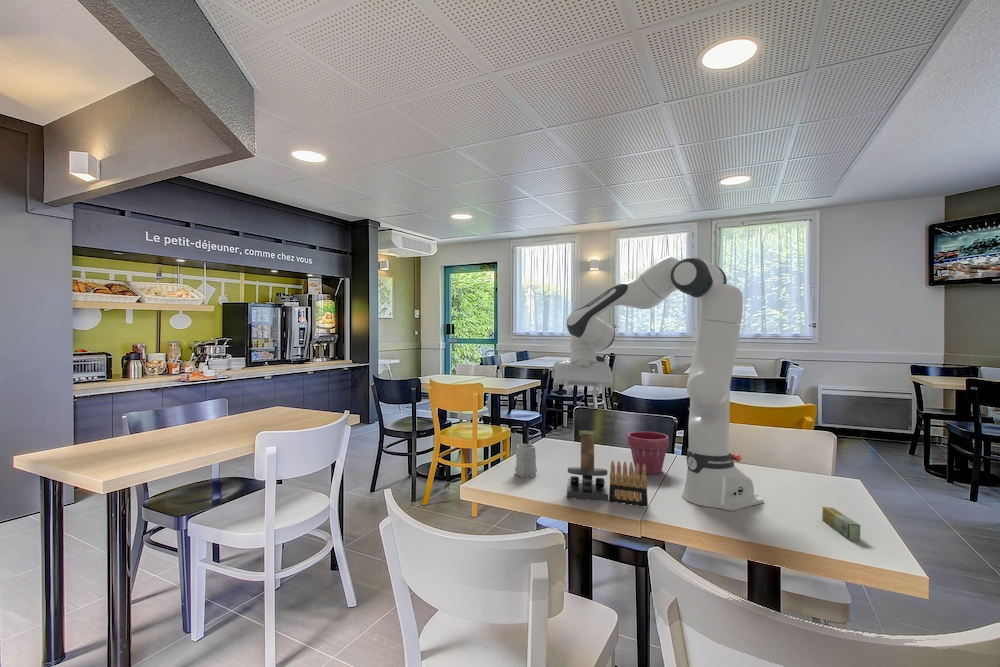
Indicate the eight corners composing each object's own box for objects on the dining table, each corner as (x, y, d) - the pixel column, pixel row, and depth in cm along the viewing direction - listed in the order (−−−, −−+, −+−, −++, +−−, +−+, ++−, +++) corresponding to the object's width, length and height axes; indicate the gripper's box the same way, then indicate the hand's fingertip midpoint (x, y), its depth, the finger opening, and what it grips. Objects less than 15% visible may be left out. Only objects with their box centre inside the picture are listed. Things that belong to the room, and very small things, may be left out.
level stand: (606, 487, 145) (606, 470, 145) (608, 501, 133) (608, 482, 133) (568, 485, 147) (568, 468, 147) (566, 498, 135) (567, 480, 135)
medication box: (861, 542, 108) (861, 525, 108) (848, 541, 108) (849, 524, 108) (832, 522, 120) (832, 506, 120) (821, 521, 120) (821, 505, 120)
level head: (606, 472, 145) (606, 431, 147) (608, 476, 133) (608, 432, 135) (568, 469, 147) (568, 429, 149) (567, 474, 135) (567, 430, 138)
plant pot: (622, 465, 170) (622, 430, 170) (658, 464, 171) (659, 430, 171) (635, 476, 156) (636, 439, 156) (675, 476, 157) (676, 439, 157)
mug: (539, 472, 161) (539, 438, 161) (531, 482, 150) (531, 445, 150) (518, 470, 163) (518, 436, 163) (509, 480, 152) (509, 444, 152)
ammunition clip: (608, 501, 133) (609, 460, 133) (609, 499, 134) (609, 459, 134) (647, 507, 128) (647, 464, 129) (647, 505, 130) (647, 463, 130)
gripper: (554, 355, 163) (553, 387, 154) (612, 359, 161) (614, 391, 152) (553, 365, 168) (552, 397, 159) (609, 369, 166) (611, 401, 157)
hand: (583, 394), depth 155 cm, fingers open, 8 cm apart
